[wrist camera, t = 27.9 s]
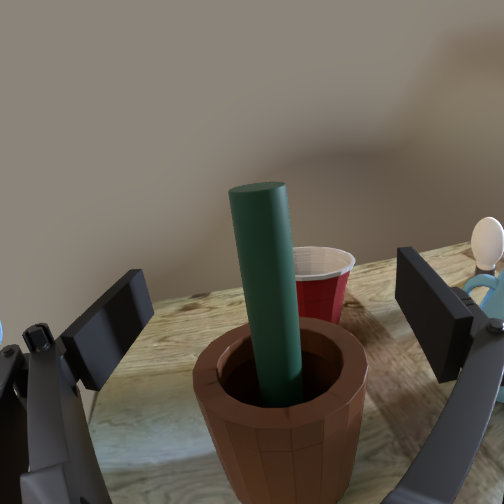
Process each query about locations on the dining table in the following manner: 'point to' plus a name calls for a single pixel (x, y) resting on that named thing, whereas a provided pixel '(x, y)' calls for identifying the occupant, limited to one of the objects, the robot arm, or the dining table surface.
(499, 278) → the decorative pot
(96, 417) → the dining table surface
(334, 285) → the plastic cup
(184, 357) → the dining table surface
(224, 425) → the brown mortar
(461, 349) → the robot arm
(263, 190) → the green peg on base
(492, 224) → the light bulb
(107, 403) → the dining table surface
